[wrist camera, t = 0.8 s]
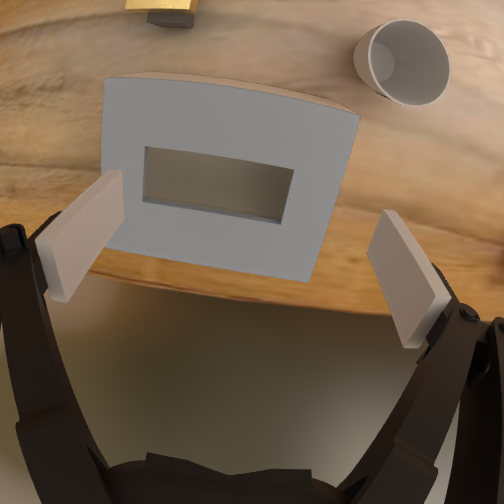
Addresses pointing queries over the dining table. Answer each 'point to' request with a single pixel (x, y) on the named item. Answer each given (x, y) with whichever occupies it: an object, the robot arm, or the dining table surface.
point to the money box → (224, 170)
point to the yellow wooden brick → (162, 6)
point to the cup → (404, 62)
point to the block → (171, 19)
